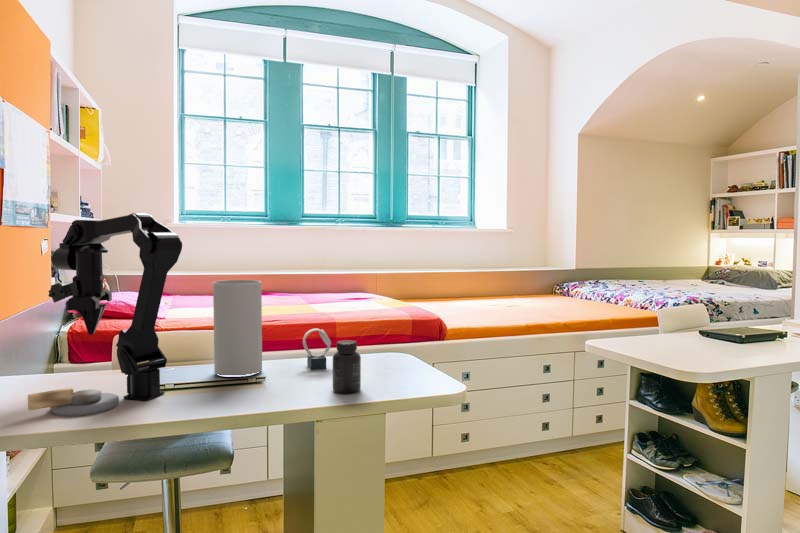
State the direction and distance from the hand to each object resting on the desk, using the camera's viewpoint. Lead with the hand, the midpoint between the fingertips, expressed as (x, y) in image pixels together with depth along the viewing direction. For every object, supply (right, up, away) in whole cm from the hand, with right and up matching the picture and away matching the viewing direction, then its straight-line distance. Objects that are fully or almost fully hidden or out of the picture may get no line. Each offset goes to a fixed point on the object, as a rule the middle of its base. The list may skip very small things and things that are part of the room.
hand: (91, 334), depth 138 cm
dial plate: (+7, -14, -15) cm, 22 cm away
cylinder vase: (+32, -13, +15) cm, 37 cm away
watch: (+53, -12, +22) cm, 58 cm away
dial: (+4, -13, -18) cm, 22 cm away
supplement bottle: (+63, -14, -1) cm, 65 cm away
